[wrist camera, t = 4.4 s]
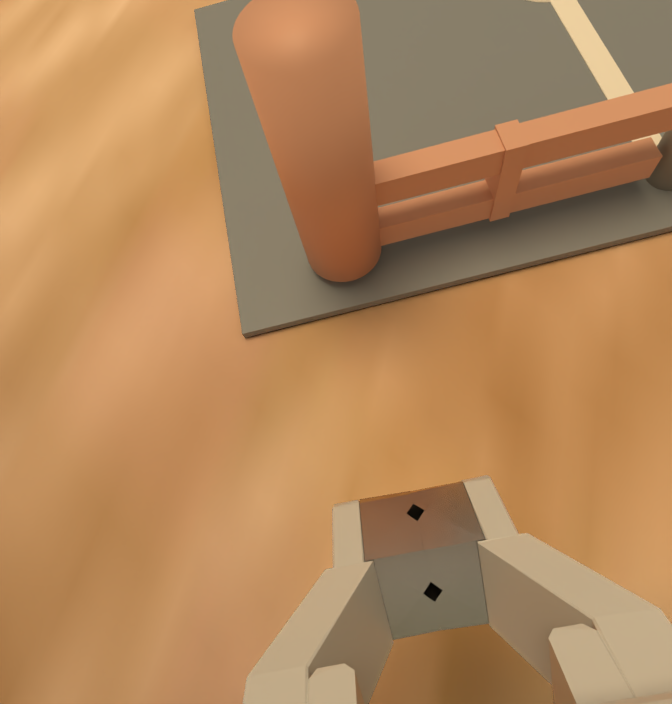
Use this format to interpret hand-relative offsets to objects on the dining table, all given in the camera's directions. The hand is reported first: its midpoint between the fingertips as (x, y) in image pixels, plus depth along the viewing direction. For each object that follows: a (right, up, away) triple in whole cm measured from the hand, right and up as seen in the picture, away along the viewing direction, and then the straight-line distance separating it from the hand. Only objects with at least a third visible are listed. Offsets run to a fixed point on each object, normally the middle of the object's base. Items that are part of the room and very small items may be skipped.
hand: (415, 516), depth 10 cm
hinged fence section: (+4, +9, +12) cm, 15 cm away
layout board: (+7, +17, +16) cm, 24 cm away
